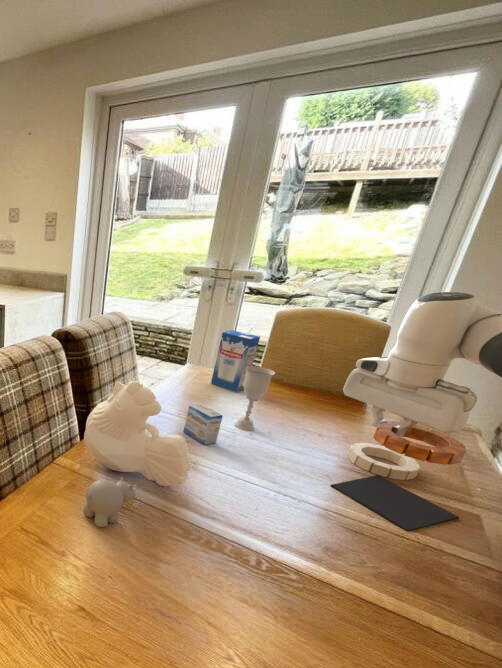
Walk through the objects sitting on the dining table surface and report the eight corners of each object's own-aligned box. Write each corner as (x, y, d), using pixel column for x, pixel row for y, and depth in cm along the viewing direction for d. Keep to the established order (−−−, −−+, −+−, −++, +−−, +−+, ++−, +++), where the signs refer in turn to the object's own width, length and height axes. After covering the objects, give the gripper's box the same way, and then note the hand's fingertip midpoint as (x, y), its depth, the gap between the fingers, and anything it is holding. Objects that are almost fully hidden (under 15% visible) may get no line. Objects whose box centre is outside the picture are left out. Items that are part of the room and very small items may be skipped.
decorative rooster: (67, 425, 104) (99, 379, 82) (116, 405, 109) (158, 357, 87) (119, 515, 94) (170, 490, 72) (170, 489, 98) (233, 458, 77)
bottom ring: (429, 475, 96) (433, 466, 95) (391, 483, 92) (395, 474, 92) (370, 448, 107) (373, 440, 106) (335, 454, 104) (338, 446, 103)
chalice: (264, 429, 116) (281, 373, 109) (247, 434, 114) (264, 376, 107) (241, 419, 122) (256, 364, 116) (225, 422, 120) (239, 367, 113)
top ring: (476, 459, 78) (482, 448, 77) (431, 468, 75) (437, 457, 74) (400, 428, 89) (405, 418, 88) (358, 435, 86) (362, 425, 85)
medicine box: (182, 432, 115) (188, 405, 111) (194, 429, 116) (200, 403, 113) (204, 445, 108) (211, 417, 104) (216, 442, 109) (223, 414, 106)
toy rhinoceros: (145, 517, 81) (152, 483, 78) (98, 534, 77) (103, 498, 74) (121, 496, 88) (127, 464, 84) (77, 511, 83) (80, 477, 80)
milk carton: (246, 389, 144) (260, 336, 137) (236, 392, 142) (250, 339, 134) (220, 380, 152) (232, 330, 145) (210, 383, 150) (222, 332, 142)
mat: (458, 518, 82) (459, 516, 81) (407, 531, 78) (408, 530, 78) (377, 476, 95) (377, 474, 95) (330, 486, 91) (330, 484, 91)
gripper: (492, 389, 73) (459, 453, 78) (370, 355, 91) (349, 409, 96) (470, 393, 71) (437, 458, 76) (349, 357, 89) (329, 412, 95)
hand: (387, 430), depth 86 cm, fingers closed on top ring, 2 cm apart
